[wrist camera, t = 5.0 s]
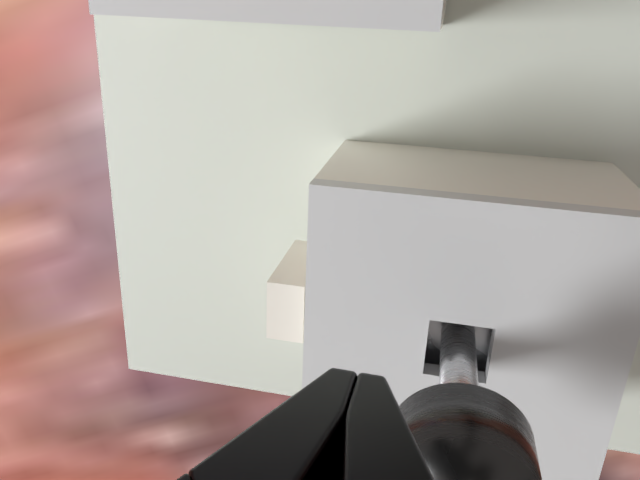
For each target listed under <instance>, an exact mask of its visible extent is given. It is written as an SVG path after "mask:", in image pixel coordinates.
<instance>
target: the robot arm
mask: <svg viewBox="0 0 640 480" xmlns="http://www.w3.org/2000/svg"><path fill="white" fill-rule="evenodd" d="M177 480H434V478H433V476H432V474H431V472H430V470H429V468H428V466H427V464H426V461H425V459H424V457H423V455H422V453H421V451H420V449H419V447H418V445H417V443H416V441H415V438H414V436H413V434H412V432H411V430H410V428H409V426H408V424H407V422H406V420H405V418H404V416H403V413H402V411H401V409H400V407H399V405H398V403H397V401H396V399H395V397H394V395H393V393H392V390H391V388H390V386H389V384H388V382H387V380H386V378H385V377H383V376H380V375H374V374H368V373H360V374H359V375H358V376H357V374H356V373H355V372H354V371H350V370H344V369H338V368H331V369H329V370H327V371H326V372H325V373H323V374H322V375H321V376H319V377H318V378H316V379H315V380H314V381H312V382H311V383H310V384H308V385H307V386H305V387H304V388H303V389H301V390H300V391H299V392H297V393H296V394H294V395H293V396H292V397H290V398H289V399H288V400H286V401H285V402H283V403H282V404H281V405H279V406H278V407H277V408H275V409H274V410H272V411H271V412H270V413H268V414H267V415H265V416H264V417H263V418H261V419H260V420H259V421H257V422H256V423H254V424H253V425H252V426H250V427H249V428H248V429H246V430H245V431H243V432H242V433H241V434H239V435H238V436H237V437H235V438H234V439H232V440H231V441H230V442H228V443H227V444H226V445H224V446H223V447H221V448H220V449H219V450H217V451H216V452H215V453H213V454H212V455H210V456H209V457H208V458H206V459H205V460H204V461H202V462H201V463H199V464H198V465H197V466H195V467H194V468H192V469H191V470H190V471H189V474H184V475H182V476H181V477H180V478H178V479H177Z"/></svg>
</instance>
